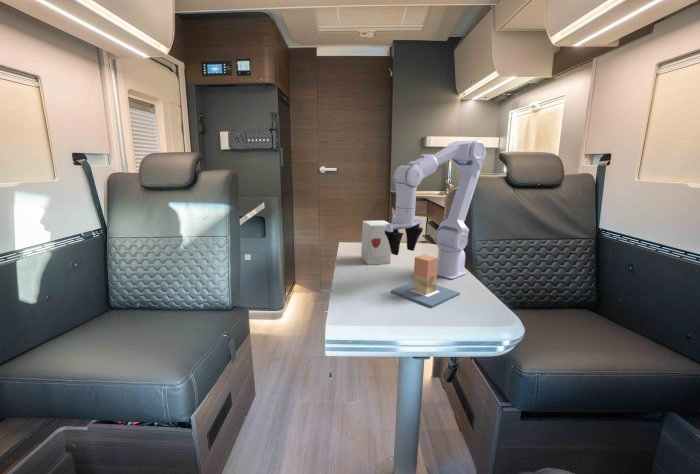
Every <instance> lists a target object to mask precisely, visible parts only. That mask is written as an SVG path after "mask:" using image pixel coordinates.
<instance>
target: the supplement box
mask: <svg viewBox="0 0 700 474" xmlns="http://www.w3.org/2000/svg"><path fill="white" fill-rule="evenodd" d="M390 223H391V222H388V221H386V220H383V219H382V220H362V229H361V230H362V232H361V253H360V259H361V260H363V261H364V262H365V263H366V264H367V265H368V266H370V265H386V264H387V265H388V264H389V265H390V264H391V259H392V258H391V257H392V254H391V249H390V245H389V241H388V239H387V237H386V235H385V230H386V224H390Z"/></svg>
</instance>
